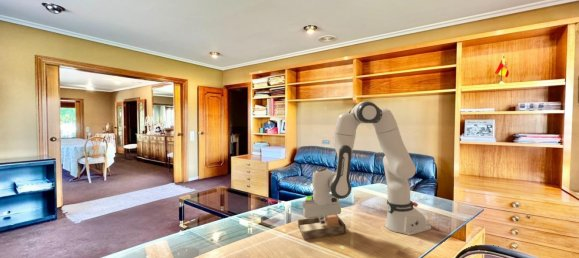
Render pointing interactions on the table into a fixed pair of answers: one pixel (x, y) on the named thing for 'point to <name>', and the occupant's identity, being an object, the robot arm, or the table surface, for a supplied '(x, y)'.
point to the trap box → (319, 228)
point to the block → (332, 220)
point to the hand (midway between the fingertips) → (322, 223)
